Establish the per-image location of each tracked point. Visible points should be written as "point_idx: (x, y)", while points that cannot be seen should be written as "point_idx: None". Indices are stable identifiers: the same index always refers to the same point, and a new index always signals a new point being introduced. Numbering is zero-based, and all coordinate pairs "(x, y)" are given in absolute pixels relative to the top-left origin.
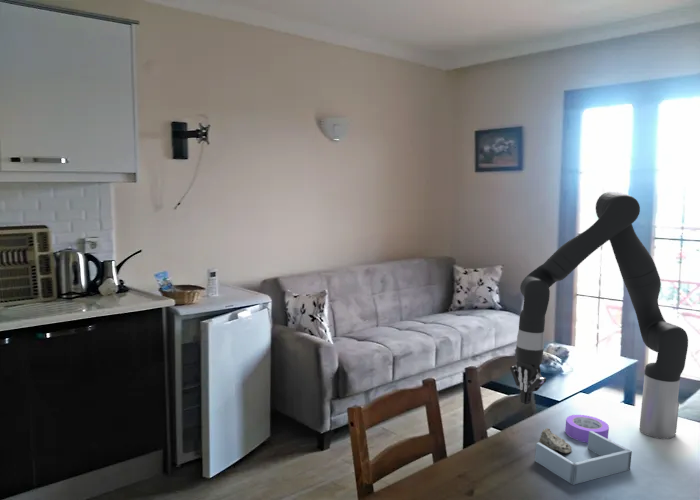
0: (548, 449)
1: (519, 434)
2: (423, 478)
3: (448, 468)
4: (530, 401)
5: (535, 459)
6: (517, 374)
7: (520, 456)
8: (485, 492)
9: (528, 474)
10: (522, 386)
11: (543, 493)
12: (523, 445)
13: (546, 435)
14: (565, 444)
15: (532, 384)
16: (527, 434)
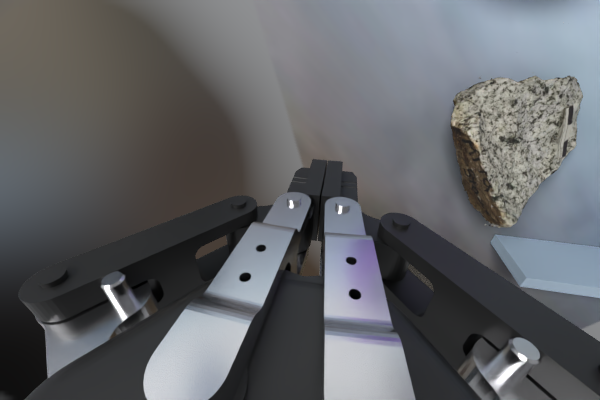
0: (583, 293)
1: (346, 155)
2: None
3: None
4: (354, 175)
5: (494, 246)
6: (178, 288)
7: None
8: None
9: None
10: (301, 263)
11: (584, 324)
12: (407, 201)
13: (518, 215)
14: (565, 117)
15: (423, 333)
16: (360, 131)
